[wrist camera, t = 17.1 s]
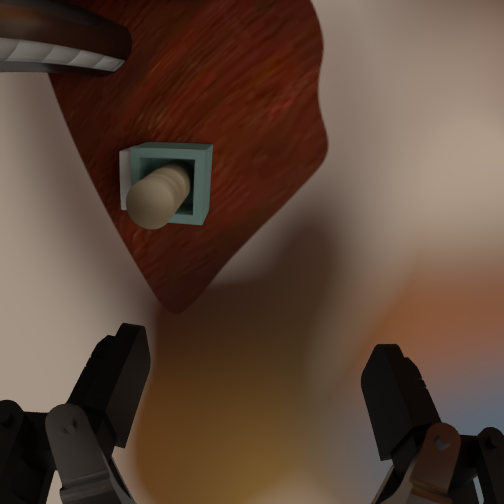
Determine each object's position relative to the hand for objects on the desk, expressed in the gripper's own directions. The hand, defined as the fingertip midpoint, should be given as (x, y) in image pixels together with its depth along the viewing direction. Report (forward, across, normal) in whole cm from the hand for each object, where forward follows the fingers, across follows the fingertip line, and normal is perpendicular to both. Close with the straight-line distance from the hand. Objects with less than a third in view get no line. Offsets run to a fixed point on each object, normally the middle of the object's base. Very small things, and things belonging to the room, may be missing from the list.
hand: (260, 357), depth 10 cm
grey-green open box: (+24, +9, 0) cm, 26 cm away
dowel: (+23, +8, 0) cm, 25 cm away
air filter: (+24, +18, -15) cm, 34 cm away
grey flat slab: (+24, +13, 0) cm, 27 cm away
